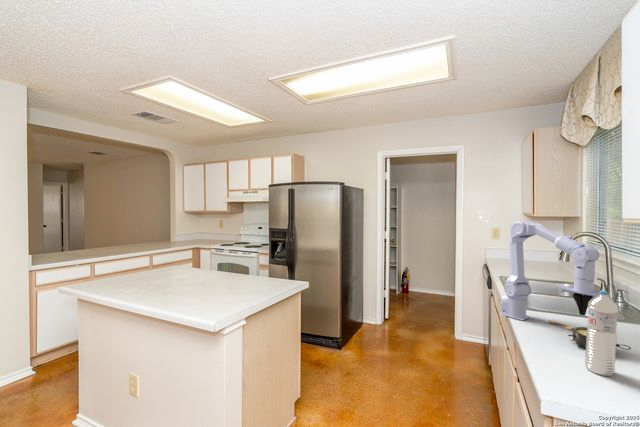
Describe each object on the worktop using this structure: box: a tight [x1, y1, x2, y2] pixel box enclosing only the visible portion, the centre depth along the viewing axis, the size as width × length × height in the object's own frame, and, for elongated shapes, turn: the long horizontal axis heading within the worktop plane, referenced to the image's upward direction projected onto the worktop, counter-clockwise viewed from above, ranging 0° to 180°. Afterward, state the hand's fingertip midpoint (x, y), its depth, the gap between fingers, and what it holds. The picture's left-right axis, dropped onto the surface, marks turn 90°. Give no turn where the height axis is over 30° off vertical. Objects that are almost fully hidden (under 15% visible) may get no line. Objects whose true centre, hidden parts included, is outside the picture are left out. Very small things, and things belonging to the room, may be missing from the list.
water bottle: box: [584, 290, 619, 377], centre depth 95 cm, size 7×7×25 cm
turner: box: [547, 320, 576, 332], centre depth 129 cm, size 14×4×1 cm, turn 38°
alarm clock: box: [567, 326, 632, 350], centre depth 110 cm, size 11×5×16 cm
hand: (582, 314), depth 116 cm, fingers closed
